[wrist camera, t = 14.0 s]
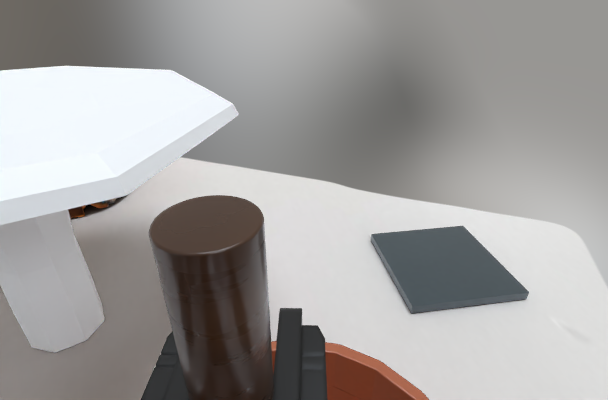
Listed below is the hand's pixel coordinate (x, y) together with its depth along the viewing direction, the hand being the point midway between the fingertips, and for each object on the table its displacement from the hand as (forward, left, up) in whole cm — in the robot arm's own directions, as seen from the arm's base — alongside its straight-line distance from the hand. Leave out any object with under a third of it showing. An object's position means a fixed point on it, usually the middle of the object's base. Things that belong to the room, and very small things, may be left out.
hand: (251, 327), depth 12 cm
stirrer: (+1, +3, -8) cm, 9 cm away
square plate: (-17, -15, -12) cm, 26 cm away
